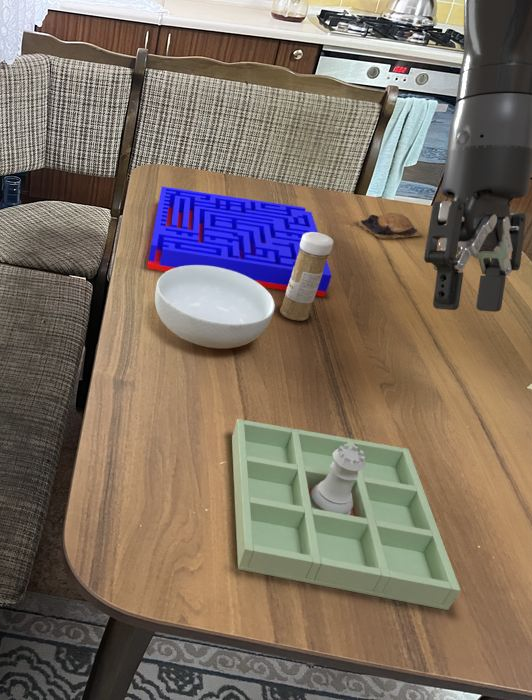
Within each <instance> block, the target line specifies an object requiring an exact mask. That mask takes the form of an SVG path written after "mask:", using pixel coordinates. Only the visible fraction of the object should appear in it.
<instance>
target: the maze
mask: <svg viewBox="0 0 532 700" xmlns="http://www.w3.org/2000/svg"><path fill="white" fill-rule="evenodd" d="M158 200H159V201H158V205H157V211H156V216H155V222H154V228H153V231H152V232H153V234H152V239H151V244H150V249H149V256H148V260H147V261H148V262H147V267H146V268H147V269H149V270H155V271H160V272H167V271H169V270H171V269H174V268H177V267H181V266H189V265H204V266H213V267H219V268H224V269H227V270H231V271H234V272H237V273H240V274H242V275H245V276H247V277H249V278H251V279H252V280H254V281H256V282H257V283H259V284H260V285H262V286H263V287H264V288H265V289H273V290H279V291H285V292H286V290H287V287H288V284H289V281H290V278H291V274H292V271H293V268H294V266H295V263H296V259H297V256H298V253H299V250H300V242H301V239H302V236H303V235H304V234H305V233H308V232H317V233H319V232H318V229H317V228H318V227H317V226H316V222H315V219H314V216H313V212H312V211H306V207H304V206H296V205H290V204H283V203H278V202H277V203H276V202H270V201H262V200H256V199H249V198H244V197H243V198H242V197H236V196H229V195H222V194H214V193H208V192H202V191H195V190H190V189H182V188H175V187H168V186H161V188H160V194H159V199H158ZM332 276H333V275H332V272H331V269H330V266H329V262H328V260H327V261H326V264H325V267H324V270H323V274H322V277H321V280H320V283H319V286H318V289H317V292H316V295H315V297H316V296H317V297H322V298H324V297H325V296H326V294H327V291H328V288H329V285H330V282H331V279H332Z"/></svg>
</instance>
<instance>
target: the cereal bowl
mask: <svg viewBox="0 0 532 700" xmlns="http://www.w3.org/2000/svg"><path fill="white" fill-rule="evenodd" d="M154 294H155V295H154V304H155V305H154V306H155V308H156V309H155V310H156V312H157V315H158V317H159V319H160V320H161V322H162V323H163V324H164V325H165V327H166V328H167V329H169V331H170V332H172V333H173V334H174V335H176V336H177V337H179V338H181V339H183V340H184V341H187V342H189V343H192V344H195V345H198V346H202V347H206V348H212V349H232V348H233V349H234V348H238V347H242V346H245V345H247V344H250V343H252V342H254V341H255V340H257V339H258V338H259V337H260V336H262V335H263V333H264V332H265V331H266V329H267V328H268V327H269V324H270V322H271V320H272V319H273V315H274V313H275V308H276V306H275V300H274V297H273V296H272V294H271V293H270V292H269V290H268V289H267V288H266V287H263V286H262V285H260V284H259V283H257V282H256V281H254V280H252V279H251V278H249V277H247V276H245V275H242V274H240V273H237V272H234V271H231V270H227V269H224V268H219V267H213V266H204V265H189V266H181V267H177V268H174V269H171V270H169V271H167V272H166V271H164V273H162V274H161V275H160V276H159V278H158V280H157V282H156V286H155V292H154Z"/></svg>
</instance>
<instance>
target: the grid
mask: <svg viewBox="0 0 532 700" xmlns="http://www.w3.org/2000/svg"><path fill="white" fill-rule="evenodd" d="M344 444H349V447H348V448H352V447H353V445H354V446H357V447H358V449H357V451H358V452H359V451H361V450H362V451H363V452H364V457H365V458H364V460H365V464H366V466H365V468H364V469H362V470H360V471H358V477H357V478H356V479H354V481H353V485H352V489H351V493H352V499H353V507H352V509H351V513H350V515H346V514H340V513H335V512H329V511H324V510H319V509H313V508H311V502H310V496H309V494H310V493H311V491H312V489H313V487H314V486H315V485H316V484H319V483H320V482H321V481H323V480H325V479H326V477H327V476H328V474H329V472H330V470H331V468H330V465H331V463H332V462H334V459H333V452H334V451H335V450H337V449H339V448H340V446H342V447H343V445H344ZM231 448H232V451H231V452H232V469H233V470H232V471H233V491H234V493H233V494H234V512H235V513H234V514H235V532H236V533H235V534H236V554H237V555H236V557H237V570H238V571H239V570H240V571H244V572H250V573H255V574H261V575H265V576H271V577H276V578H280V579H285V580H291V581H296V582H302V583H307V584H311V585H316V586H321V587H327V588H332V589H338V590H343V591H348V592H351V593H357V594H363V595H368V596H373V597H379V598H383V599H387V600H388V599H389V600H393V601H399V602H404V603H409V604H415V605H419V606H425V607H429V608H433V609H434V608H435V609H440V610H445V611H448V610H449V609H450V608H451V606H452V605H453V603H454V602H455V600H456V598H457V597H458V596H459V594H460V593H461V587H460V584H459V582H458V580H457V576H456V574H455V571H454V568H453V566H452V563H451V561H450V560H451V559H450V558H449V555H448V552H447V550H446V547H445V543H444V542H443V538H442V536H441V533H440V530H439V528H438V525H437V521H436V520H435V517H434V514H433V511H432V509H431V506H430V503H429V501H428V498H427V495H426V492H425V489H424V487H423V484H422V482H421V479H420V475H419V473H418V471H417V467H416V465H415V463H414V460H413V457H412V454H411V452H410V450H409V448H406V447H401V446H396V445H395V446H394V445H389V444H383V443H378V442H372V441H366V440H361V439H354V438H349V437H343V436H338V435H333V434H327V433H321V432H315V431H309V430H304V429H297V428H291V427H287V426H281V425H275V424H269V423H263V422H257V421H252V420H245V419H242V418H241V419H240V418H237V419H236V423H235V426H234V429H233V432H232V436H231Z"/></svg>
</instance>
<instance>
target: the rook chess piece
mask: <svg viewBox="0 0 532 700" xmlns="http://www.w3.org/2000/svg"><path fill="white" fill-rule="evenodd" d="M348 447H349V444H344V445H343V447H342V446H340V448H339V449H337V450H335V451H334V452H333V459H334V462H332V463H331V465H330V468H331V470H330V472H329V474H328V476H327V477H326V479H325V480H323V481H321V482H320V483H319V484H316V485H315V486H314V487H313V489H312V491H311V493H310V494H309V496H310V502H311V508H313V509H319V510H324V511H329V512H335V513H340V514H346V515H350V513H351V509H352V507H353V499H352V493H351V489H352V485H353V481H354V479H356V478H357V477H358V471H360V470H362V469H364V468H365V466H366V464H365V460H364V458H365V457H364V452H363V451H362V450H361V451H359V452H358V451H357V449H358V447H357V446H354V445H353V447H352V448H348Z"/></svg>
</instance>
